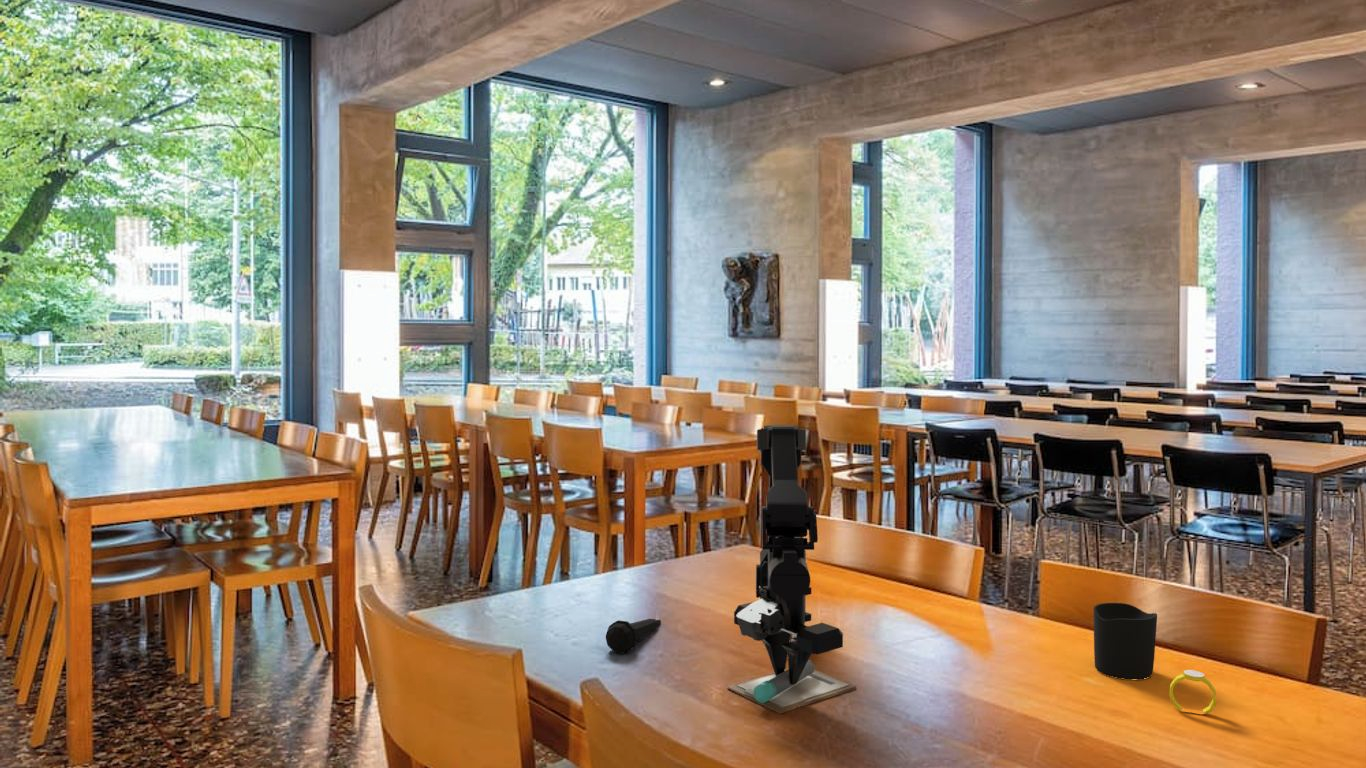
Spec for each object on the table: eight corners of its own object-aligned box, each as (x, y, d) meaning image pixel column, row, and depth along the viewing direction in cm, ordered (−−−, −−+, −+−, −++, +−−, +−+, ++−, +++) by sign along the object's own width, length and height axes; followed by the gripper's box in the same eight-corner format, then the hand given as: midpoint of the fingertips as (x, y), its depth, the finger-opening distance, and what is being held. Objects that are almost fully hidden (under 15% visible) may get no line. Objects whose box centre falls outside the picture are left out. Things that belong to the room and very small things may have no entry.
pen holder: (1151, 665, 165) (1153, 605, 164) (1158, 684, 156) (1160, 622, 155) (1090, 658, 168) (1091, 600, 167) (1093, 678, 159) (1095, 616, 158)
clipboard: (802, 667, 164) (802, 661, 164) (856, 688, 155) (856, 682, 155) (727, 689, 155) (727, 683, 155) (779, 713, 145) (779, 707, 145)
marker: (807, 673, 160) (801, 657, 160) (820, 670, 158) (815, 654, 159) (756, 704, 147) (751, 686, 147) (771, 701, 145) (765, 683, 146)
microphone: (650, 639, 189) (604, 660, 170) (643, 609, 190) (596, 626, 171) (676, 633, 187) (632, 653, 168) (668, 603, 188) (624, 619, 169)
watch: (1213, 714, 145) (1218, 674, 145) (1214, 721, 143) (1219, 681, 142) (1167, 704, 148) (1172, 665, 147) (1167, 711, 145) (1172, 671, 145)
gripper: (707, 576, 154) (707, 674, 155) (789, 604, 139) (789, 713, 140) (761, 565, 161) (761, 659, 162) (845, 591, 146) (845, 695, 147)
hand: (786, 680), depth 153 cm, fingers closed on marker, 3 cm apart
